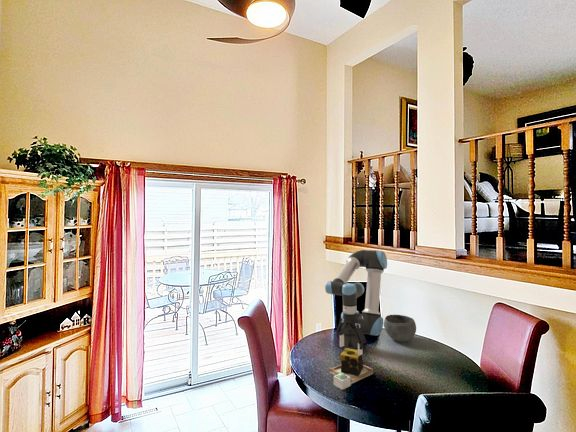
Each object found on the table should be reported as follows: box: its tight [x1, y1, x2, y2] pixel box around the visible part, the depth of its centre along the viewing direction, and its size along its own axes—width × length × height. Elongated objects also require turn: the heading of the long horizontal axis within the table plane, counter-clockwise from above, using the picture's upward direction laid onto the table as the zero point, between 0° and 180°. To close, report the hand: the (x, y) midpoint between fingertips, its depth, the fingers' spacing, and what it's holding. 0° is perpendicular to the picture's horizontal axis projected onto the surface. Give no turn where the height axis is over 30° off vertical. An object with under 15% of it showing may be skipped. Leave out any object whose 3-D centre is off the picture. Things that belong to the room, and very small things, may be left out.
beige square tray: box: [328, 363, 374, 385], centre depth 176 cm, size 16×18×2 cm
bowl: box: [383, 314, 417, 343], centre depth 220 cm, size 21×21×15 cm
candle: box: [340, 348, 364, 376], centre depth 177 cm, size 10×10×10 cm
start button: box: [338, 373, 345, 380], centre depth 164 cm, size 4×4×4 cm
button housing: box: [333, 374, 351, 391], centre depth 164 cm, size 6×6×4 cm
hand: (350, 350), depth 177 cm, fingers open, 13 cm apart
